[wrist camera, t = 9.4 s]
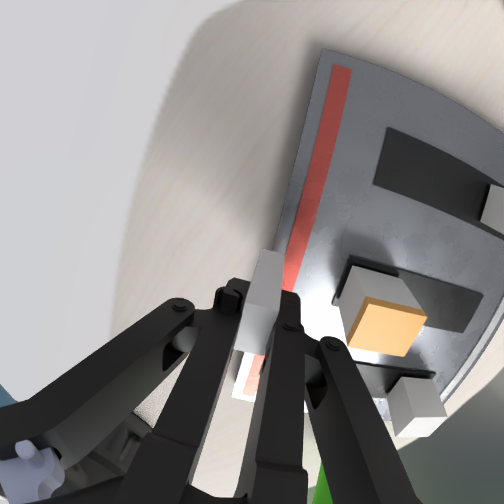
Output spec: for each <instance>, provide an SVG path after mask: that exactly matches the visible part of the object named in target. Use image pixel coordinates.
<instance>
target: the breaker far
mask: <svg viewBox="0 0 504 504" xmlns="http://www.w3.org/2000/svg"><path fill="white" fill-rule="evenodd" d="M386 399H387V403H388V407H389V411H390V416H391V420H392V424H393V429H394V433H395V437H426V436H429V435H430V434H431V433H432V432H433V431H435V429H436V428H438V427H439V425H440V424H441V423H442V422H443V421H444V420H445V419H446V418H447V417H448V416H447V414H446V411H445V408H444V406H443V403H442V401H441V398H440V396H439V394H438V391H437V389H436V387H435V384H434V382H433V380H432V379H420V378H410V377H401V378H400V379H399V381H398V382H397V383H396V385H395V386H394V388H393V389H392V390H391V392H390V393H389V394H388V395H387V397H386Z"/></svg>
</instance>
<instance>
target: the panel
mask: <svg viewBox="0 0 504 504" xmlns="http://www.w3.org/2000/svg"><path fill="white" fill-rule="evenodd" d="M491 184H492V185H495V186H498V187H502V188H504V134H503V133H501V132H500V131H499V130H497V129H496V128H495V127H493V126H492V125H490V124H489V123H487V122H486V121H484V120H483V119H481V118H480V117H478V116H477V115H475V114H474V113H472V112H470V111H469V110H467V109H466V108H464V107H462V106H461V105H459V104H457V103H455V102H454V101H452V100H450V99H448V98H447V97H445V96H443V95H441V94H439V93H437V92H435V91H433V90H431V89H429V88H427V87H425V86H423V85H421V84H419V83H417V82H415V81H413V80H411V79H408V78H406V77H404V76H402V75H399V74H397V73H395V72H392V71H390V70H387V69H385V68H382V67H379V66H377V65H374V64H371V63H369V62H366V61H363V60H360V59H357V58H354V57H351V56H348V55H344V54H341V53H338V52H334V51H330V50H327V49H323V48H322V52H321V55H320V59H319V64H318V68H317V72H316V77H315V81H314V85H313V90H312V94H311V98H310V102H309V107H308V111H307V115H306V119H305V123H304V128H303V132H302V136H301V140H300V144H299V148H298V152H297V156H296V160H295V164H294V168H293V172H292V176H291V180H290V184H289V188H288V192H287V196H286V200H285V204H284V208H283V211H282V215H281V219H280V223H279V227H278V231H277V234H276V238H275V242H274V246H273V250H272V251H274V252H278V253H281V254H285V261H284V271H283V280H282V289H283V290H286V291H290V292H294V293H297V294H298V295H299V297H300V298H301V324H302V325H303V326H304V329H305V333H306V334H307V335H309V336H310V337H312V338H314V339H316V340H319V341H320V339H321V338H322V337H324V336H333V337H336V338H338V339H340V340H342V341H343V342H344V343H345V344H346V346H347V343H346V338H345V333H344V329H343V324H342V319H341V315H340V311H339V306H338V301H339V298H340V296H341V293H342V291H343V288H344V286H345V283H346V281H347V278H348V276H349V273H350V270H351V268H352V265H353V266H357V267H360V268H364V269H368V270H371V271H375V272H379V273H382V274H386V275H390V276H393V277H397V278H400V279H402V280H403V282H404V283H405V284H406V286H407V287H408V289H409V290H410V292H411V293H412V294H413V296H414V297H415V299H416V300H417V302H418V303H419V305H420V306H421V308H422V309H423V311H424V312H425V314H426V316H427V319H426V321H425V323H424V324H423V326H422V328H421V330H420V331H419V333H418V335H417V337H416V338H415V340H414V342H413V343H412V345H411V347H410V348H409V350H408V351H407V353H406V355H405V356H404V357H402V356H395V355H389V354H383V353H377V352H371V351H365V350H360V349H354V348H349V347H347V348H348V350H349V352H350V354H351V356H352V358H353V360H354V362H355V364H356V366H357V368H358V370H359V372H360V374H361V376H362V378H363V380H364V382H365V384H366V386H367V388H368V390H369V392H370V394H371V396H372V398H373V400H374V403H375V405H376V407H377V409H378V411H379V413H380V415H381V417H382V420H385V421H392V420H391V416H390V411H389V407H388V403H387V399H386V397H387V395H388V394H389V393H390V392H391V390H392V389H393V388H394V386H395V385H396V383H397V382H398V381H399V379H400V378H401V377H410V378H420V379H432V380H433V382H434V384H435V387H436V389H437V391H438V394H439V396H440V398H441V401H442V403H443V405H444V404H445V402H446V401H447V400H448V399H449V398H450V396H451V395H452V394H453V393H454V392H455V390H456V389H457V388H458V387H459V385H460V384H461V383H462V381H463V380H464V379H465V378H466V376H467V375H468V374H469V372H470V371H471V369H472V368H473V367H474V365H475V364H476V362H477V361H478V359H479V358H480V357H481V355H482V354H483V352H484V351H485V349H486V347H487V346H488V344H489V343H490V341H491V339H492V338H493V336H494V335H495V333H496V331H497V330H498V328H499V326H500V324H501V323H502V321H503V319H504V234H502V233H500V232H498V231H496V230H495V229H493V228H491V227H489V226H487V225H486V224H484V223H482V222H480V221H481V217H482V214H483V211H484V208H485V205H486V201H487V198H488V194H489V190H490V186H491ZM264 356H265V354H264ZM263 359H264V357H263V356H259V355H255V354H251V353H247V352H244V354H243V358H242V361H241V365H240V368H239V372H238V375H237V378H236V382H235V385H234V389H233V393H232V397H235V398H239V399H243V400H247V401H251V402H255V398H256V393H257V388H258V382H259V377H260V375H258V373H259V370H260V368H261V365H262V362H263ZM304 412H307V413H308V410H307V407H306V403H305V402H304Z"/></svg>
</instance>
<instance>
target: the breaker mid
mask: <svg viewBox="0 0 504 504" xmlns="http://www.w3.org/2000/svg"><path fill="white" fill-rule="evenodd" d="M338 306H339V311H340V315H341V319H342V324H343V329H344V333H345V338H346V343H347V347H349V348H354V349H360V350H365V351H371V352H377V353H383V354H389V355H395V356H402V357H404V356H405V355H406V353H407V351H408V350H409V348H410V347H411V345H412V343H413V342H414V340H415V338H416V337H417V335H418V333H419V331H420V330H421V328H422V326H423V324H424V323H425V321H426V319H427V316H426V314H425V312H424V311H423V309H422V308H421V306H420V305H419V303H418V302H417V300H416V299H415V297H414V296H413V294H412V293H411V292H410V290H409V289H408V287H407V286H406V284H405V283H404V282H403V280H402V279H400V278H397V277H393V276H390V275H386V274H382V273H379V272H375V271H371V270H368V269H364V268H360V267H357V266H353V265H352V268H351V270H350V273H349V276H348V278H347V281H346V283H345V286H344V288H343V291H342V293H341V296H340V298H339V301H338Z"/></svg>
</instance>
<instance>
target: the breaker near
mask: <svg viewBox="0 0 504 504" xmlns="http://www.w3.org/2000/svg"><path fill="white" fill-rule="evenodd" d="M480 222H482V223H484V224H486V225H487V226H489V227H491V228H493V229H495V230H496V231H498V232H500V233H502V234H504V188H502V187H498V186H495V185H492V184H491V186H490V190H489V194H488V198H487V201H486V205H485V208H484V211H483V214H482V217H481V221H480Z"/></svg>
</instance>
